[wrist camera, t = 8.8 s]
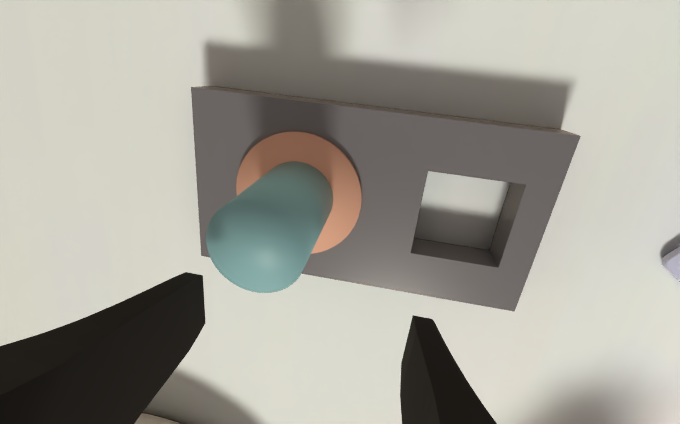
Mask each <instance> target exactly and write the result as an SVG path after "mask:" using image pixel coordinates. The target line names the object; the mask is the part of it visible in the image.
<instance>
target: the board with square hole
mask: <svg viewBox="0 0 680 424" xmlns="http://www.w3.org/2000/svg"><path fill="white" fill-rule="evenodd" d="M191 93H192V109H193V125H194V142H195V158H196V174H197V191H198V207H199V223H200V240H201V256H206V257H210V255H209V252H208V249H207V244H206V232H207V228H208V225H209V222H210V220H211V219H212V217H213V215H214V214H215V213H216V212H217V211H218V210H219V209H220V208H222V207H223V206H224V205H226V204H227V203H228V202H230V201H231V200H232V199H233V198H235V197H236V196H237V193H236V182H237V175H238V171H239V168H240V166H241V163H242V161H243V160H244V158H245V156H246V155H247V154H248V152H249V151H250V150H251V149H252V148H253V147H254V146H255V145H256V144H258V143H259V142H261V141H262V140H264V139H266V138H268V137H270V136H272V135H275V134H278V133H282V132H289V131H299V132H307V133H311V134H314V135H317V136H320V137H322V138H324V139H326V140H328V141H329V142H331V143H332V144H334V145H335V146H336V147H338V148H339V149H340V150H341V151H342V152H343V153H344V154H345V155H346V156H347V158H348V159H349V160H350V162H351V163H352V165H353V167H354V168H355V170H356V173H357V175H358V178H359V181H360V185H361V191H362V203H361V209H360V213H359V217H358V219H357V222H356V224H355V226H354V228H353V229H352V231H351V232H350V233H349V235H348V236H347V237H346V238H345V239H344V240H343V241H342V242H340V243H339V244H337V245H336V246H334V247H332V248H330V249H328V250H325V251H322V252H318V253H313V254H310V257H309V259H308V261H307V263H306V265H305V267H304V269H303V271H302V274H307V275H313V276H318V277H324V278H330V279H335V280H341V281H347V282H352V283H358V284H363V285H369V286H375V287H380V288H386V289H392V290H397V291H403V292H408V293H414V294H420V295H425V296H431V297H436V298H442V299H448V300H453V301H459V302H465V303H470V304H476V305H481V306H487V307H493V308H498V309H504V310H510V311H515V309H516V306H517V303H518V301H519V298H520V295H521V293H522V290H523V287H524V285H525V282H526V279H527V277H528V274H529V271H530V269H531V266H532V263H533V261H534V258H535V255H536V253H537V250H538V247H539V245H540V242H541V240H542V237H543V234H544V232H545V229H546V226H547V224H548V221H549V218H550V216H551V213H552V210H553V208H554V205H555V202H556V200H557V197H558V194H559V192H560V189H561V186H562V184H563V181H564V179H565V176H566V173H567V171H568V168H569V165H570V163H571V160H572V157H573V155H574V152H575V149H576V147H577V144H578V141H579V139H580V136H579V135H576V134H573V133H570V132H567V131H564V130H561V129H553V128H544V127H536V126H528V125H520V124H512V123H504V122H496V121H488V120H480V119H472V118H464V117H456V116H448V115H440V114H432V113H424V112H416V111H408V110H400V109H391V108H383V107H375V106H367V105H359V104H351V103H343V102H335V101H327V100H319V99H311V98H303V97H295V96H287V95H279V94H271V93H263V92H255V91H246V90H238V89H230V88H222V87H214V86H203V87H191ZM428 171H433V172H440V173H447V174H454V175H462V176H469V177H476V178H483V179H490V180H497V181H504V182H511V183H510V187H509V190H508V193H507V196H506V199H505V202H504V206H503V209H502V212H501V215H500V218H499V221H498V225H497V228H496V231H495V234H494V237H493V241H492V244H491V247H490V250H483V249H477V248H471V247H465V246H458V245H452V244H446V243H440V242H434V241H428V240H421V239H415V238H414V234H415V229H416V225H417V220H418V215H419V211H420V206H421V201H422V196H423V192H424V187H425V182H426V178H427V173H428Z"/></svg>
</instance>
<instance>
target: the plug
mask: <svg viewBox="0 0 680 424" xmlns="http://www.w3.org/2000/svg"><path fill="white" fill-rule="evenodd" d="M332 206H333V193H332V189H331V186H330V184H329V182H328V180H327V179H326V177H325V176H324V175H323V174H322V173H321V172H320V171H319V170H318V169H316V168H315V167H313V166H311V165H309V164H307V163H303V162H298V161H290V162H285V163H282V164H279V165H277V166H276V167H274V168H273V169H272V170H270V171H269V172H268V173H266V174H265V175H264V176H262V177H261V178H260V179H258V180H257V181H256V182H255V183H253V184H252V185H251V186H249V187H248V188H247V189H245V190H244V191H243V192H241V193H240V194H239V195H237V196H236V197H235V198H233V199H232V200H231V201H230V202H228V203H227V204H226V205H224V206H223V207H222V208H220V209H219V210H218V211H217V212H216V213H215V214H214V215H213V217H212V219H211V220H210V222H209V225H208V228H207V232H206V244H207V249H208V252H209V255H210V258H211V260H212V262H213V263H214V265H215V266H216V268H217V269H218V270H219V272H220V273H221V274H222V275H223V276H224V277H225V278H227V279H228V280H229V281H231V282H232V283H234V284H235V285H237V286H239V287H241V288H243V289H246V290H249V291H253V292H258V293H271V292H277V291H280V290H283V289H285V288H287V287H289V286H290V285H292V284H293V283H294V282H295V281H296V280H297V279H298V278H299V276H300V275H301V273H302V271H303V269H304V267H305V265H306V263H307V261H308V259H309V257H310V254H311V252H312V250H313V248H314V246H315V244H316V242H317V240H318V238H319V236H320V233H321V231H322V229H323V227H324V225H325V223H326V221H327V219H328V217H329V215H330V212H331V210H332Z"/></svg>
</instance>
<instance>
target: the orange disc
mask: <svg viewBox="0 0 680 424" xmlns="http://www.w3.org/2000/svg"><path fill="white" fill-rule="evenodd" d="M290 161H298V162H303V163H307V164H309V165H311V166H313V167H315V168H316V169H318V170H319V171H320V172H321V173H322V174H323V175H324V176H325V177H326V179H327V180H328V182H329V184H330V186H331V189H332V193H333V206H332V210H331V212H330V215H329V217H328V219H327V221H326V223H325V225H324V227H323V229H322V231H321V233H320V236H319V238H318V240H317V242H316V244H315V246H314V248H313V250H312V252H311V254H313V253H318V252H322V251H325V250H328V249H330V248H332V247H334V246H336V245H337V244H339V243H340V242H342V241H343V240H344V239H345V238H346V237H347V236H348V235H349V233H350V232H351V231H352V229H353V228H354V226H355V224H356V222H357V219H358V217H359V213H360V209H361V203H362V191H361V185H360V181H359V178H358V175H357V173H356V170H355V168H354V167H353V165H352V163H351V162H350V160H349V159H348V158H347V156H346V155H345V154H344V153H343V152H342V151H341V150H340V149H339V148H338V147H336V146H335V145H334V144H332V143H331V142H329V141H328V140H326V139H324V138H322V137H320V136H317V135H314V134H311V133H307V132H299V131H289V132H282V133H278V134H275V135H272V136H270V137H268V138H266V139H264V140H262V141H261V142H259V143H258V144H256V145H255V146H254V147H253V148H252V149H251V150H250V151H249V152H248V154H247V155H246V156H245V158H244V160H243V161H242V163H241V166H240V168H239V171H238V175H237V182H236V193H237V195H239V194H240V193H241V192H243V191H244V190H245V189H247V188H248V187H249V186H251V185H252V184H253V183H255V182H256V181H257V180H258V179H260V178H261V177H262V176H264V175H265V174H266V173H268V172H269V171H270V170H272V169H273V168H274V167H276V166H277V165H279V164H282V163H285V162H290Z"/></svg>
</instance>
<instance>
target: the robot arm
mask: <svg viewBox="0 0 680 424" xmlns="http://www.w3.org/2000/svg"><path fill="white" fill-rule="evenodd" d="M662 265H663V266H664V267H665V268H666V269H667V270H668V271H669V272H670V273H671V274H672V275H673V276H674V277H675V278H676V279H677V280H678V281H679V282H680V246H679V247H678V248H676V249H675V250H673V251H671V252H670V253H668V254H667V255H666V256H664V257H663V259H662ZM204 324H205V309H204V291H203V275H197V274H192V273H187V272H186V273H183V274H181V275H178V276H176V277H174V278H172V279H169V280H167V281H165V282H163V283H161V284H159V285H157V286H155V287H153V288H150V289H148V290H146V291H144V292H142V293H140V294H138V295H136V296H133V297H131V298H129V299H127V300H125V301H123V302H120V303H118V304H116V305H113V306H111V307H109V308H106V309H104V310H102V311H100V312H97V313H95V314H93V315H90V316H88V317H85V318H83V319H80V320H78V321H75V322H73V323H70V324H67V325H65V326H62V327H59V328H56V329H53V330H51V331H48V332H45V333H42V334H39V335H36V336H33V337H30V338H26V339H23V340H20V341H16V342H13V343H10V344H6V345H3V346H0V424H134V423H135V422H136V421H137V419H138V418H139V416H140V415H141V414H142V412H143V411H144V409H145V408H146V407H147V405H148V404H149V403H150V402H151V400H152V399H153V398H154V396H155V395H156V394H157V392H158V391H159V390H160V388H161V387H162V386H163V385H164V383H165V382H166V381H167V379H168V378H169V377H170V375H171V374H172V373H173V371H174V370H175V369H176V367H177V366H178V365H179V363H180V362H181V361H182V359H183V358H184V357H185V355H186V354H187V353H188V351H189V350H190V348H191V347H192V345H193V343H194V342H195V340H196V338H197V337H198V335H199V333H200V331H201V330H202V328H203V326H204ZM400 397H401V413H402V424H497V423H496V422H495V421H494V419H493V418H492V417H491V415H490V414H489V413H488V411H487V410H486V408H485V407H484V405H483V404H482V403H481V401H480V400H479V398H478V397H477V395H476V394H475V392H474V391H473V389H472V388H471V386H470V385H469V383H468V381H467V380H466V378H465V377H464V375H463V373H462V372H461V370H460V368H459V367H458V365H457V363H456V362H455V360H454V358H453V356H452V355H451V353H450V351H449V349H448V347H447V346H446V344H445V342H444V340H443V338H442V336H441V334H440V332H439V330H438V328H437V326H436V324H435V322H434V321H433V320H432V319H429V318H423V317H418V316H413V318H412V322H411V326H410V330H409V334H408V338H407V343H406V347H405V351H404V355H403V359H402V365H401V390H400Z"/></svg>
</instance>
